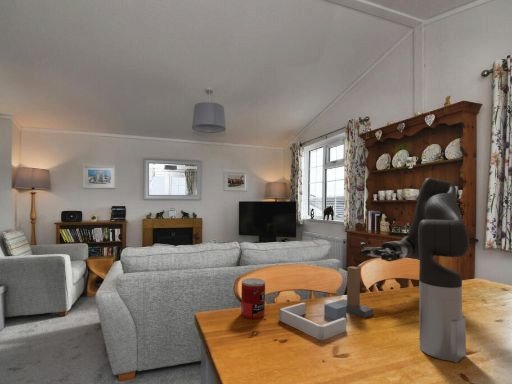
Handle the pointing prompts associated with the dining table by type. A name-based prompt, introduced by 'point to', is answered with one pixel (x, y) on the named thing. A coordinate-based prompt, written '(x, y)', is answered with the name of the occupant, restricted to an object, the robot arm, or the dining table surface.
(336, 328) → the box
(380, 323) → the dining table surface
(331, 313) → the ceramic block
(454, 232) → the robot arm
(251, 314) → the canned food
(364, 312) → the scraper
